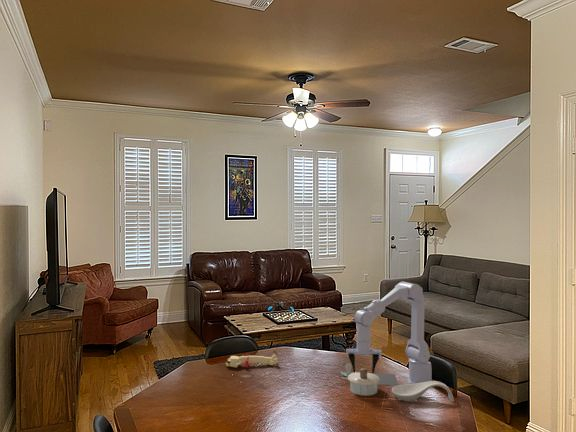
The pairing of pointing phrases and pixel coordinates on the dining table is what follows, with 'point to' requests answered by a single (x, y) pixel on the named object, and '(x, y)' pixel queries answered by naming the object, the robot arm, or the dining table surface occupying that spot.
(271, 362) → the cream plush toy
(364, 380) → the lid
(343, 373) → the pacifier
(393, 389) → the spoon rest
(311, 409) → the dining table surface
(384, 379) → the mat
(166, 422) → the dining table surface
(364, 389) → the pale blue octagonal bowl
